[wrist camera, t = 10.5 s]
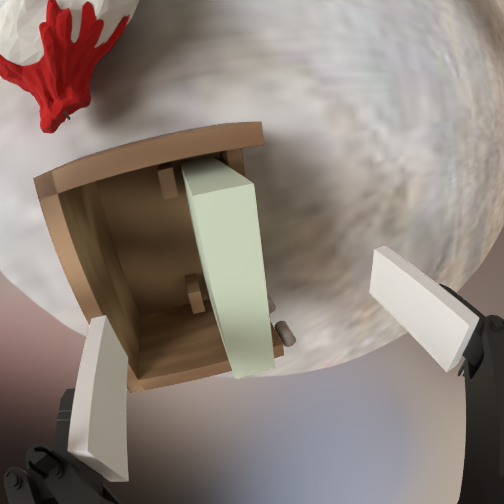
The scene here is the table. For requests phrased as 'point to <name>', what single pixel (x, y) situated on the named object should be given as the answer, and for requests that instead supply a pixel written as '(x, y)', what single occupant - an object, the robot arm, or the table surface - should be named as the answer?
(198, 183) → the door
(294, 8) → the table surface
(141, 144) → the cabinet
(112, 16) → the white and red lump
